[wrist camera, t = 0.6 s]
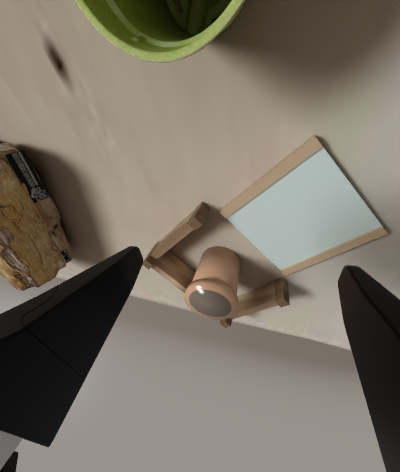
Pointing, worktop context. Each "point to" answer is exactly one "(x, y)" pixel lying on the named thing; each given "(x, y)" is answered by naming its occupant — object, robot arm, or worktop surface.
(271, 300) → the frame
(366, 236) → the lid pane
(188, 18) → the plant pot
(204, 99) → the worktop surface
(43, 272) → the petrified wood
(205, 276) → the terracotta pot
